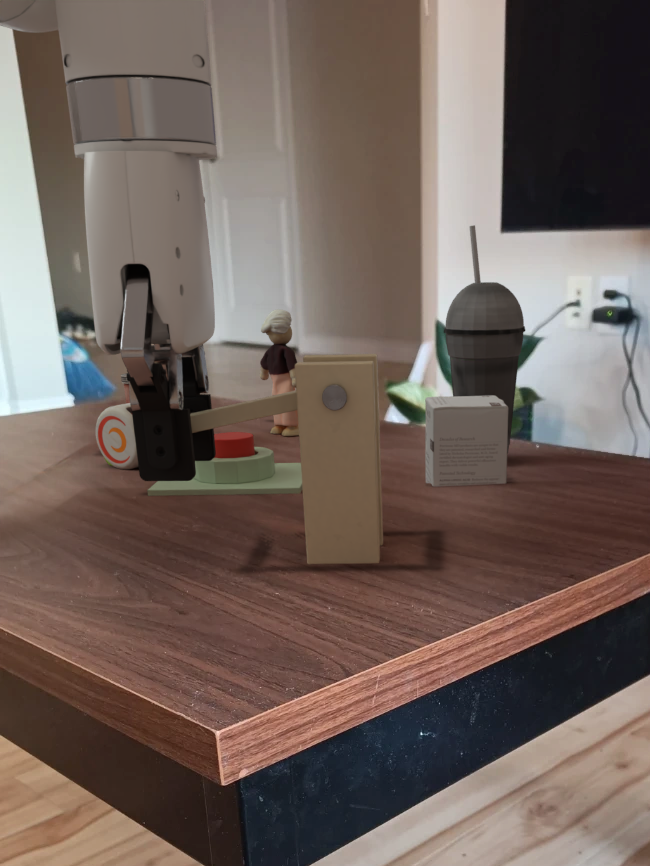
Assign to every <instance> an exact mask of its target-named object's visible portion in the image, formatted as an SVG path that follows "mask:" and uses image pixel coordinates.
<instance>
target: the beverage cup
mask: <svg viewBox="0 0 650 866" xmlns="http://www.w3.org/2000/svg"><path fill="white" fill-rule="evenodd" d="M476 231H477V229H476V224H475V225H469V236H470V237H469V238H470V245H471V246H470V247H471V256H472V257H471V258H472V266H473V276H474V282H472V283H470V284H468V285H466V286H465V287H463V288H462V289H461V290H460V291H459V292H458V293H457V294H456V296H455V297H454V298H453V300H452V301H451V302H450V304H449V307H448V311H447V313H446V318H445V327H444V328H443V333H444V334H445V345H446V349H447V356H449V365H450V375H451V376H450V378H451V388H452V389H451V390H452V396H492V395H494V396H497V397H498V398H499V399H501V400H503V401H504V403H505V404H506V405H507V406H508V438H507V455H508V454H509V448H510V445H511V436H512V425H513V416H514V408H515V407H514V406H515V397H516V387H517V377H518V368H519V358H520V355H521V353H522V347H523V343H524V333H525V332H526V327H525V323H524V313H523V310H522V307H521V304H520V302H519V300H518V299H517V297H516V296H515V294H514V293H513V292H512V291H511V290H510V288H508V287H506V286H505V285H504V284H501V283H500V282H496V281H495V282H494V281H493V282H492V281H488V282H486V281H485V282H481V273H480V262H479V251H478V242H477V241H478V239H477V232H476Z"/></svg>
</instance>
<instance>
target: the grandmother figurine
mask: <svg viewBox="0 0 650 866" xmlns="http://www.w3.org/2000/svg"><path fill="white" fill-rule="evenodd" d="M292 321H293V319H292V315H291V313H290V312H289V311H288V310H284V309H279V308H278V309H274V310H272V311H271V312H270V313H268V315H266V317H265V319H264V321H263V323H262V324H261V327H260V332H261V333H262V334H266V335H267V337H268V339H269V340H270V342H271V343H272V345H271V346H269V347H268V349H266V351H265V352H264V354H263V356H262V357H261V359H260V363H259V364H260V373H259V378H260V380H262V381H267V380H268V379H269V377H270V379H271V381H272V391H271V396H273V395H277V394H282V393H286V392H291V391H295V390H296V379H295V364H296V363H298V360H297V356H296V352H295V351H294V349H292V348H290V347H289V346H288V344H289V343H290V341H292V338H293V329H292V326H291V325H292ZM273 425H274V426H273V427H272V428H271V430H270V434H272V435H273V434H274V435H280V434H281V436H282V437H294V436H295V437H296V436H298V437H299V426H298V410H295V411H291V412H286V413H282V414H277V415H273Z"/></svg>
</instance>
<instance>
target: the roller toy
mask: <svg viewBox="0 0 650 866" xmlns="http://www.w3.org/2000/svg"><path fill="white" fill-rule="evenodd" d="M95 440H96V443H97V448H98V449H99V451H100V453H101V455H102V456H103V459H104V460H105V462H106V463H107V464H108V465H109V466H110V467H115V468H116V469H119V470H125V471H126V470H128V471H129V470H133V469H139V467H138V458H137V450H136V442H135V434H134V426H133V417H132V409H131V405H130V403H127V404H126V403H122V404H117V405H111V406H109V407H107V408H105V409H104V410H102V412H101V413H100V414H99V416H98V417H97V420H96V424H95Z"/></svg>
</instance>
